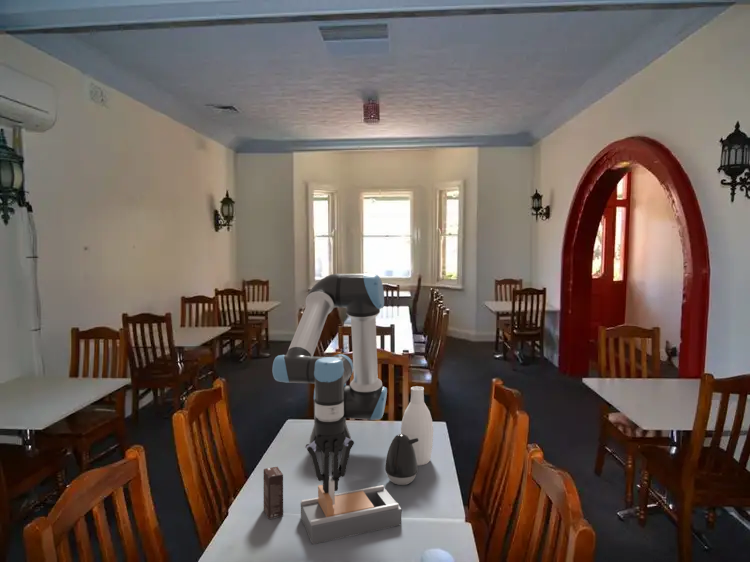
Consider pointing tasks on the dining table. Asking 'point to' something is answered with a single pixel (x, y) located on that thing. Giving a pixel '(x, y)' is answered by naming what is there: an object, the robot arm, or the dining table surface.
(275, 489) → the box
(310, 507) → the grey sliding-lid case
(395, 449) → the pump dispenser
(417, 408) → the bottle
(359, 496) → the shutter
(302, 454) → the dining table surface
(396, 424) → the dining table surface
